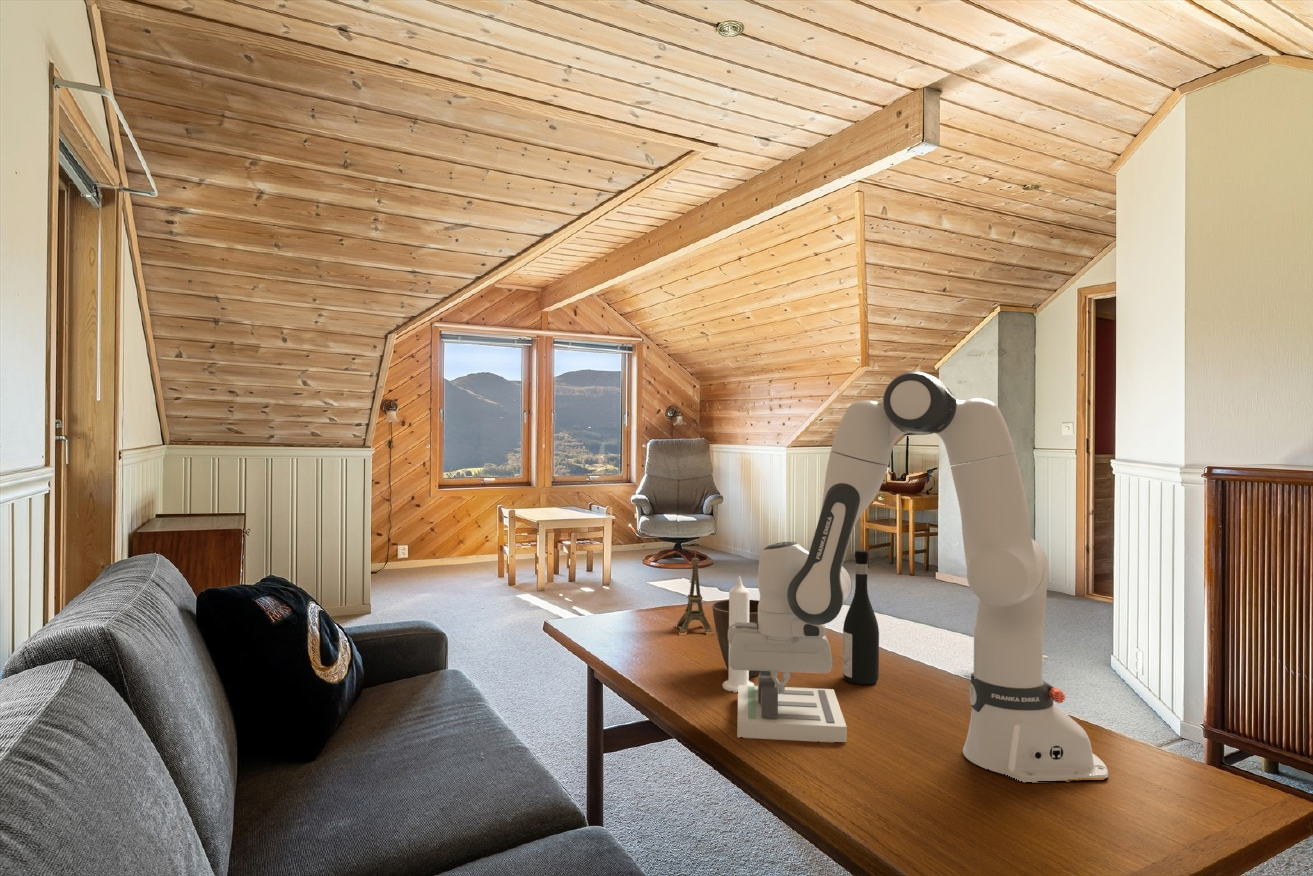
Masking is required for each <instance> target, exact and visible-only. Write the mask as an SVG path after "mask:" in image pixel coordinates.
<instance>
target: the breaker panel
mask: <svg viewBox="0 0 1313 876" xmlns="http://www.w3.org/2000/svg"><path fill="white" fill-rule="evenodd" d="M846 723H847V722H846V721H845V717H844V715H843V712H842V709H841V707H840V704H839V701H838V698H837V695H836V693H835V688H834V689H833V688H832V689H831V688H813V687H811V688H810V687H794V686H793V687H791V686H790V687H787V686H785V694H778V718H773V717H762V715H761V704H758V685H754V686H749V685H738V693H737V729H736V732H737V733H736V734H737V735H736V737H737V738H740V737H743V739H763V740H781V741H782V740H783V741H800V742H818V741H819V742H820V743H834V742H847V739H848V738H847V737H848V735H847V734H848V730H847V729H848V726H847V724H846ZM819 742H818V743H819ZM847 743H848V742H847Z"/></svg>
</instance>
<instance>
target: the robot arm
mask: <svg viewBox="0 0 1313 876" xmlns="http://www.w3.org/2000/svg"><path fill="white" fill-rule="evenodd" d="M932 434H936V435H938V437H940V439H941V440H942V442H943V444H944V446H945V450H946V453H947V456H948V462H949V463H948V464H949V466H950V470H951V474H952V480H953V484H954V488H955V492H956V496H957V501H958V505H959V510H960V518H961V519H960V520H961V532H962V533H961V534H962V542H963V550H964V557H965V558H964V559H965V564H966V565H965V566H966V579H967V583H968V586H969V588H970V590H971V591H972V593H974V596H976V597H977V598H978V603H977V610H976V611H977V612H976V619H975V622H974V623H975V624H974V628H973V672H972V673H971V675H970V682H969V683H970V684H969V702H970V707H971V713H970V721H969V726H968V731H967V736H966V739H965V743H964V746H963V749H962V754H963V756H964V757H965V758H966V759H967V760H968V761H969V762H971V763H973V764H974V765H977V766H979V767H981V768H982V769H985V770H988V769H989V771H990V772H995V773H998V774H1002V775H1004V774H1005V776H1007V775H1008V776H1007V777H1009V776H1010V777H1009V778H1011V777H1012V779H1013V778H1015V779H1014V780H1016V779H1017V780H1016V781H1018V780H1019V781H1018V782H1021V781H1022V783H1026V782H1032V783H1038V782H1037V781H1056V780H1068V779H1077V778H1078V779H1079V778H1080V779H1081V778H1107V777H1108V778H1109V770H1108V767H1107V765H1106V764H1105V763H1104V762H1103V761H1102V759H1100V758H1099V757H1098V755H1096V754H1094V753H1093V749H1092V744H1091V741H1090V738H1089V736H1088V734H1087V731H1086V730H1084V728H1083V727H1082V726H1081V725H1080V724H1078V722H1076V721H1075V720H1074V718H1072V717H1070V716H1069V714H1067V713H1066V712H1065V711H1063V710H1062V709H1061V708H1059V707H1058V706H1057V705H1056V704H1055V703H1054V702H1056V703H1058V704H1062V703H1064V701H1066V694H1065V693H1064V691H1061V689H1059V688H1057V687H1054V686H1053V685H1052V684H1049V683H1048V682H1046V681H1045V680H1043V677H1044V676H1043V674H1044V672H1043V670H1044V668H1043V666H1044V665H1043V664H1044V631H1045V622H1046V621H1045V619H1046V608H1047V596H1048V592H1047V591H1048V577H1049V576H1048V575H1049V563H1048V558H1047V557H1048V556H1047V554H1046V553H1045V550H1044V549H1043V547H1042V546H1041V545H1040V544H1039V543H1038V542H1037V541H1036V540H1035V539H1033V538H1032V534H1031V533H1032V532H1031V526H1030V518H1029V511H1028V499H1027V493H1026V490H1025V485H1024V482H1023V478H1022V477H1023V476H1022V473H1021V469H1020V465H1019V461H1018V457H1017V452H1016V449H1015V445H1014V442H1013V439H1012V436H1011V433H1010V431H1009V427H1008V425H1007V423H1006V421H1005V418H1004V416H1003V414H1002V411H1001V410H1000V408H999V407H998V405H997V404H996V403H994V402H993V401H991V400H988V399H984V398H968V399H957V398H955V397H954V395H953V392H952V391H951V390H950V389H949V388H948V387H947V385H946V384H945V383H944V382H943V381H942V380H940V379H939V378H938V377H935V376H933V375H931V374H928V373H926V372H922V371H909V372H905V373H901V374H900V375H897V376H896V377H895V378H894V379H892V380H891V381H890V382H889V384H888V385H887V386H886V389H885V391H884V393H883V397H882V401H876V400H870V399H868V400H867V399H864V400H863V399H862V400H858V401H855V402H853V403H851V404H850V405H849V406H848V407H847V409H846V410H845V413H844V414H843V417H842V418H841V421H840V422H839V425H838V427H837V430H836V433H835V436H834V438H833V442H832V444H831V445H832V446H831V448H830V451H829V456H828V461H827V465H826V472H825V479H824V487H823V495H822V496H823V497H822V504H821V509H820V515H819V518H818V521H817V525H816V529H815V532H814V536H813V538H812V540H811V541H812V542H811V545H810V548H809V550H806V549H805V548H804V547H803V546H801V544H800V543H798V542H795V541H783V542H777V543H772V544H769V545H768V546H766V547H765V548H763V550H762V551H761V552H760V554H759V555H760V556H759V560H758V571H757V588H758V592H759V600H758V601H759V604H758V623H742V622H736V623H735V624H733V625H731V626H730V627H729V629H728V641H729V642H730V644H731V648H730V660H729V665H730V666H731V668H732V669H733V670H751V671H770V674H771V678H772V680H774V683H775V687H777V691H778V694H785V687H786V685H787V684H788V682H789V680H790V678H791V673H806V674H807V673H813V674H829V673H830V672H831V670H833V658H832V652H831V645H830V643H829V640H828V638H827V636H826V626H825V625H826V624H829V623H830V622H832V621H834V620H835V619H836V618H837V617H838V615H839V614H840V612H841V610H842V607H843V606H844V604H845V603H846V602H847V600H848V598H849V596H850V595H851V593H852V588H853V587H852V586H853V582H852V579H851V575H850V573H849V571H848V570H847V569H846V568H845V566H843V564H844V561H845V557H846V553H847V550H848V547H849V544H850V540H851V537H852V534H853V530H854V528H855V527H856V524H857V522H858V521H859V519H860V518H861V516H862V515H863V513H864V512H865V511H866V509H867V508H868V507H869V506H870V505H871V503H872V502H873V501H874V500H875V498H876V496H877V495H878V493H879V491H880V489H881V487H882V484H883V482H884V480H885V477H886V475H887V471H888V467H889V463H890V460H891V456H892V453H893V449H894V447H895V445H896V443H897V441H898V440H899V439H900V438H901V437H902V436H917V435H918V436H922V435H923V436H924V435H932ZM734 626H735V627H734ZM757 628H758V630H757ZM779 672H782V676H783V678H782V679H781V681H780V680H779V679H778V675H779Z"/></svg>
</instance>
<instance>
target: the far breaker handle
mask: <svg viewBox="0 0 1313 876" xmlns="http://www.w3.org/2000/svg"><path fill="white" fill-rule="evenodd" d="M759 675H762V676H771V674H770V671H760V673H759ZM774 687H776V685H775V683H774Z"/></svg>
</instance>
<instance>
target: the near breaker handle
mask: <svg viewBox="0 0 1313 876" xmlns="http://www.w3.org/2000/svg"><path fill="white" fill-rule="evenodd" d="M761 715H762V717H773V718H778V691H777V687H776V686H775V687H761Z"/></svg>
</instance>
